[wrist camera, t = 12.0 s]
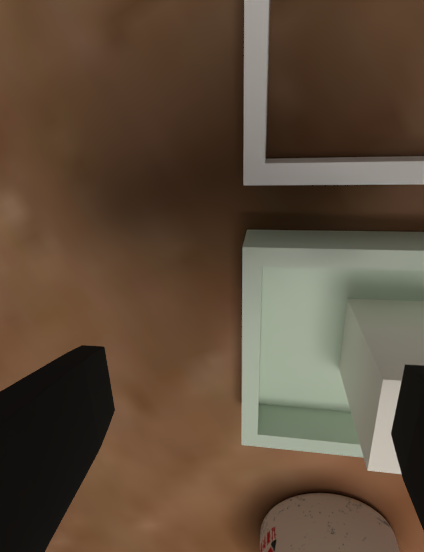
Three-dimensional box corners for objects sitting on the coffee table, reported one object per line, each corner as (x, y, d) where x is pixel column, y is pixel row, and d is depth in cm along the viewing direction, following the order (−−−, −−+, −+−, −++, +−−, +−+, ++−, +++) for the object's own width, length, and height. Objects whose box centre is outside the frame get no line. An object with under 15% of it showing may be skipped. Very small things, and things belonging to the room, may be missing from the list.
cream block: (439, 301, 16) (523, 388, 11) (423, 374, 18) (490, 483, 12) (347, 298, 17) (383, 379, 12) (339, 369, 18) (367, 470, 13)
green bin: (573, 233, 15) (635, 255, 12) (503, 429, 19) (540, 475, 16) (246, 229, 17) (242, 247, 15) (245, 406, 21) (241, 444, 18)
